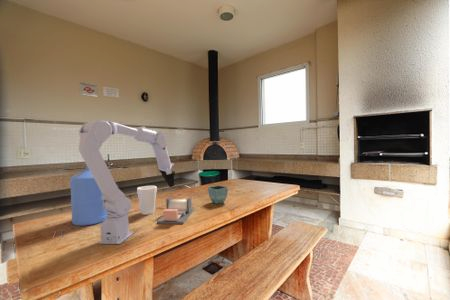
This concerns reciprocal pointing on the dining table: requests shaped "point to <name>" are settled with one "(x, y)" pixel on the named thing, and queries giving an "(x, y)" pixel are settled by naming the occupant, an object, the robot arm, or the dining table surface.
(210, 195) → the flower pot
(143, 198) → the foam cup
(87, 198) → the water jug
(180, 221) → the dispenser
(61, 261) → the dining table surface
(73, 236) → the dining table surface
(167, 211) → the pink rectangular block
